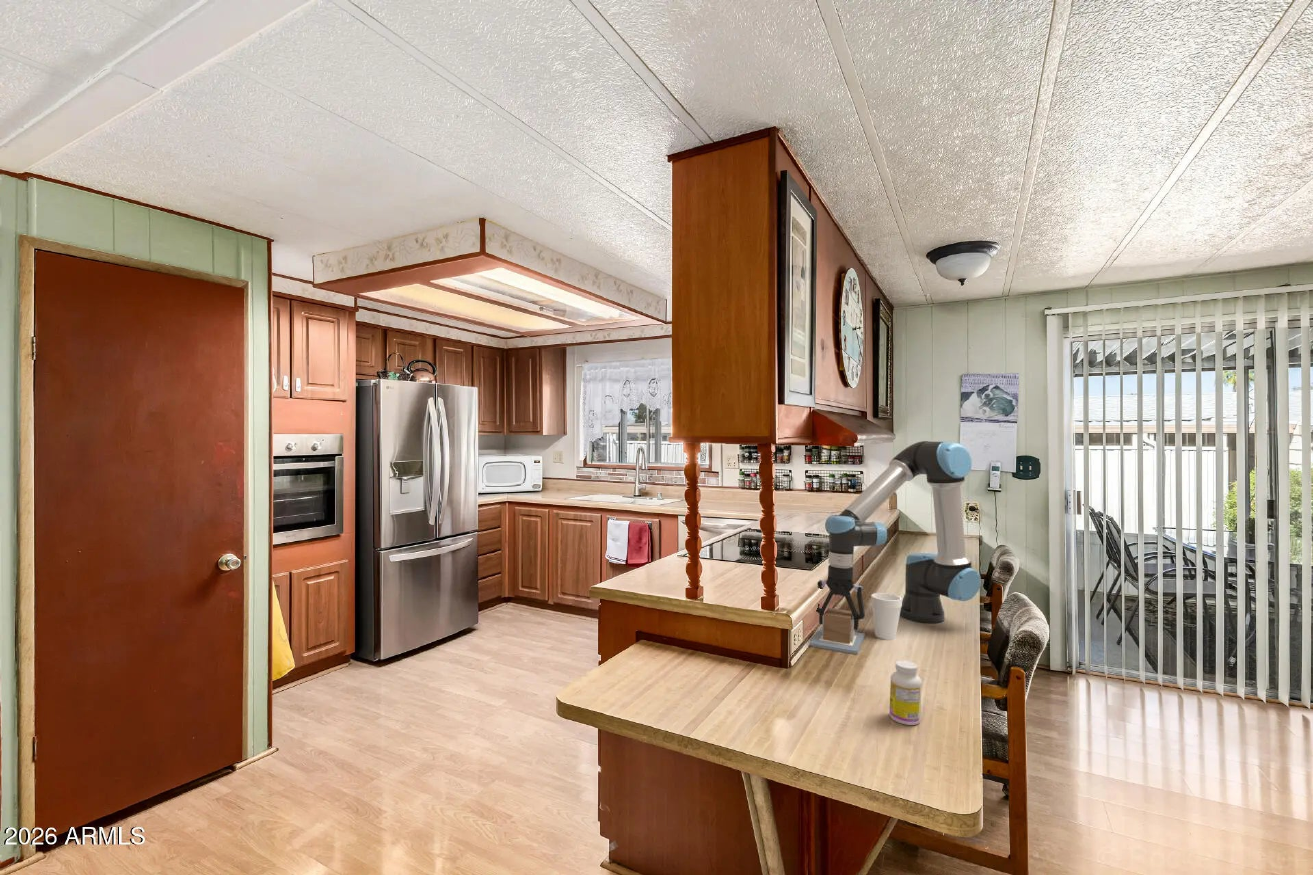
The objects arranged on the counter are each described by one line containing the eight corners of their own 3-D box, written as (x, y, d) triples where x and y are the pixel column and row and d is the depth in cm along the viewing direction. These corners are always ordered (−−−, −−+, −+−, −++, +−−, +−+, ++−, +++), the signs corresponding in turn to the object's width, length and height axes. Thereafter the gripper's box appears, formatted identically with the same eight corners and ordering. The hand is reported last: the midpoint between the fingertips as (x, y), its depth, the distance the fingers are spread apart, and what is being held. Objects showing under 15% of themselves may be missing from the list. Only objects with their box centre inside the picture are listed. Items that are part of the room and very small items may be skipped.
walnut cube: (827, 631, 194) (828, 607, 194) (852, 636, 191) (853, 611, 191) (822, 639, 187) (823, 614, 187) (849, 644, 183) (850, 618, 183)
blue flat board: (820, 629, 200) (820, 625, 200) (864, 636, 194) (864, 633, 194) (810, 646, 184) (810, 642, 184) (857, 654, 178) (857, 650, 178)
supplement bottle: (894, 709, 143) (896, 656, 142) (923, 718, 138) (925, 663, 138) (885, 719, 137) (887, 664, 137) (915, 729, 133) (917, 672, 133)
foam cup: (863, 633, 197) (865, 594, 197) (884, 630, 201) (886, 591, 201) (885, 642, 189) (887, 602, 189) (907, 639, 193) (908, 599, 192)
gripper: (804, 563, 190) (802, 634, 190) (874, 572, 181) (871, 646, 181) (809, 559, 196) (807, 627, 197) (876, 567, 187) (874, 639, 188)
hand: (838, 636), depth 189 cm, fingers closed on walnut cube, 8 cm apart
